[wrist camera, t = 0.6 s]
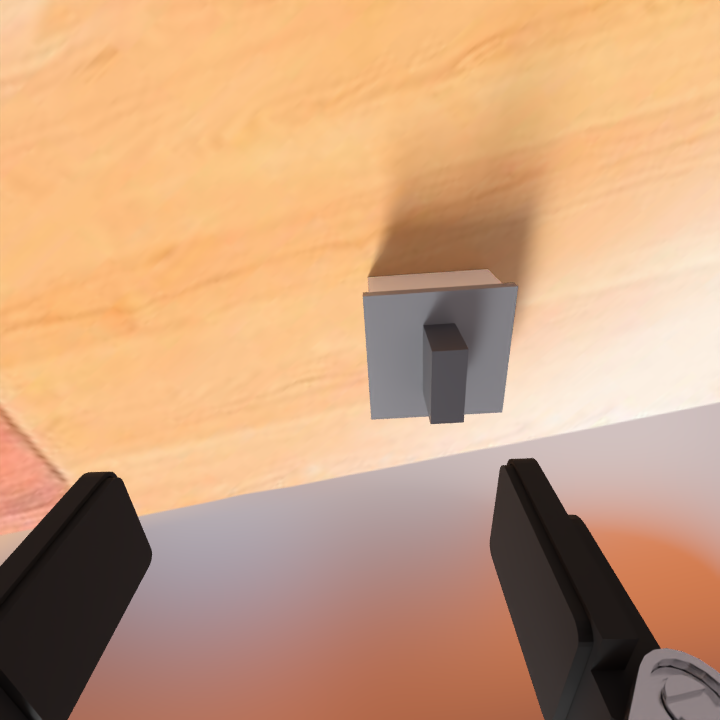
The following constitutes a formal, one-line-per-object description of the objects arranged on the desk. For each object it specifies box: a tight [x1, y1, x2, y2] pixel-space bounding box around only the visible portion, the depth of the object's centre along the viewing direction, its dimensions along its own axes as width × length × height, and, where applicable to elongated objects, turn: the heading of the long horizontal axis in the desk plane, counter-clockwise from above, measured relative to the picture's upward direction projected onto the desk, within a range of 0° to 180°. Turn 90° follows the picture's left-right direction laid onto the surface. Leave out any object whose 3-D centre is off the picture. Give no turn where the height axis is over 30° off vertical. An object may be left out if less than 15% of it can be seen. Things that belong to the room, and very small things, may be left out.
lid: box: [363, 283, 518, 424], centre depth 35 cm, size 13×13×6 cm
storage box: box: [368, 269, 501, 292], centre depth 40 cm, size 12×12×6 cm
